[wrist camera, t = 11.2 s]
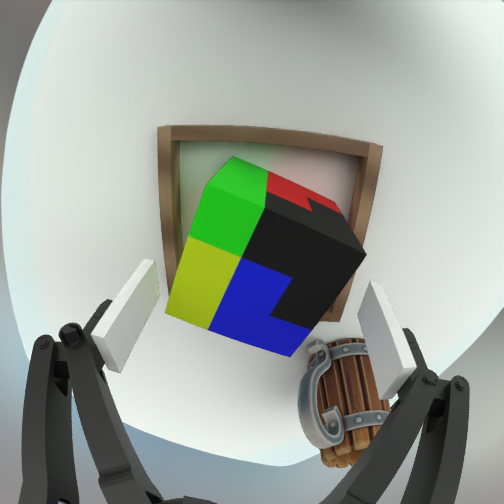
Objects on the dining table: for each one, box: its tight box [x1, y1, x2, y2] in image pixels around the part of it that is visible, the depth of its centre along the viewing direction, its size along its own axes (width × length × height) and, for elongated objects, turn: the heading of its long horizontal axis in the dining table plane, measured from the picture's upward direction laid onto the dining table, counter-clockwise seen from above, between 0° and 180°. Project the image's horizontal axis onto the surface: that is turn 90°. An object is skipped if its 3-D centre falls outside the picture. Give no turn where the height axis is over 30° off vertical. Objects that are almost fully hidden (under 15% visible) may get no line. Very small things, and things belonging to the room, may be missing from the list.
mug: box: [298, 338, 390, 468], centre depth 27 cm, size 16×11×15 cm
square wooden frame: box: [158, 125, 383, 322], centre depth 25 cm, size 18×18×2 cm
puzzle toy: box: [165, 156, 367, 357], centre depth 21 cm, size 10×10×10 cm
